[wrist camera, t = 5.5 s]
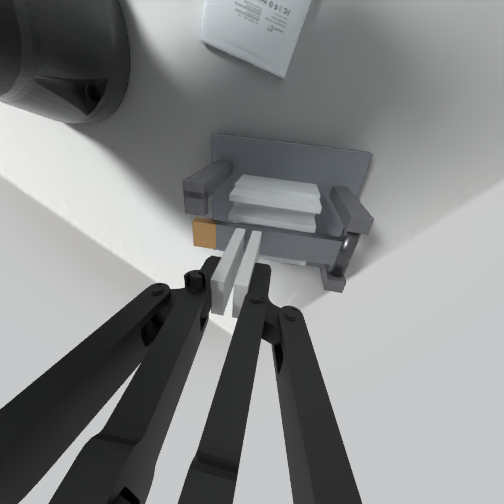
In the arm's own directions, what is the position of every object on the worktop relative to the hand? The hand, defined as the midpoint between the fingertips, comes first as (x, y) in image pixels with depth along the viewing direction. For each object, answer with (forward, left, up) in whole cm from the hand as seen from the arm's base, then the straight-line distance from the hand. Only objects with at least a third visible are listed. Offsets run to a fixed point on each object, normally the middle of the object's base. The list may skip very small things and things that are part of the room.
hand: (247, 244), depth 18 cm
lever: (+2, 0, -2) cm, 3 cm away
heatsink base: (+2, 0, -10) cm, 11 cm away
